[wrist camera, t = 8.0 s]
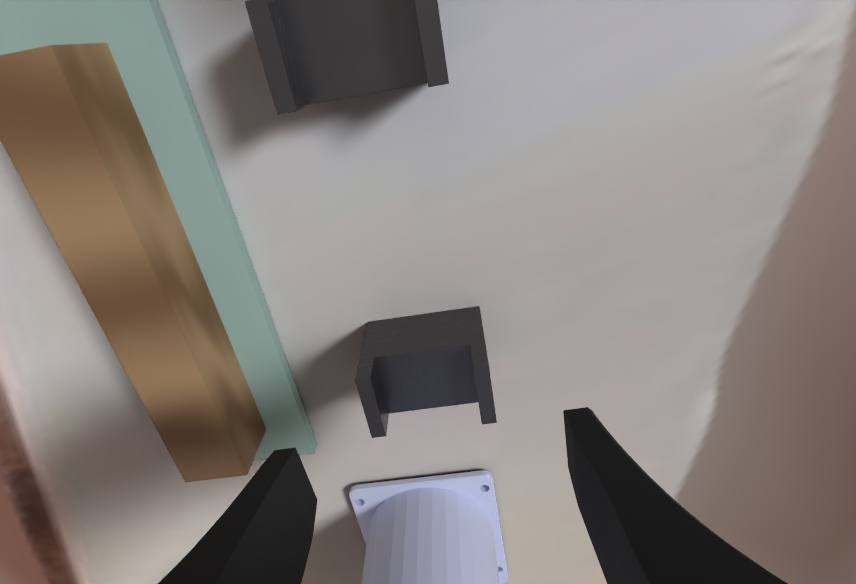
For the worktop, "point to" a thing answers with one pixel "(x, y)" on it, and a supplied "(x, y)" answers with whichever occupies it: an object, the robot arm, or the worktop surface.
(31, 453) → the worktop surface
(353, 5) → the post
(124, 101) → the rail
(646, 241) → the worktop surface
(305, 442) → the mat
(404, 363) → the post
